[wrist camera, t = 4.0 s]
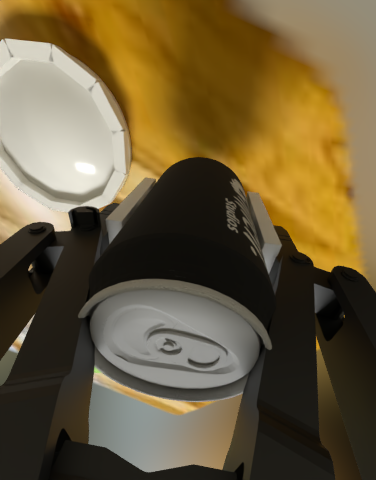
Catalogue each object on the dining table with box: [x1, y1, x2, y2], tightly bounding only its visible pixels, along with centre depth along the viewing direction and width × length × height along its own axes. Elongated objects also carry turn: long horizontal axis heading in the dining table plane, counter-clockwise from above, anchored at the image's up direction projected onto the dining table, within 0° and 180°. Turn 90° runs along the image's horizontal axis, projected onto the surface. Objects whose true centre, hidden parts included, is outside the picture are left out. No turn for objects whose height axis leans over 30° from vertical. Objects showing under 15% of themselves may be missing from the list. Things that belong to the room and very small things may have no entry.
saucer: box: [0, 38, 132, 212], centre depth 19 cm, size 13×13×2 cm
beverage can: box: [78, 157, 277, 402], centre depth 11 cm, size 7×7×12 cm
